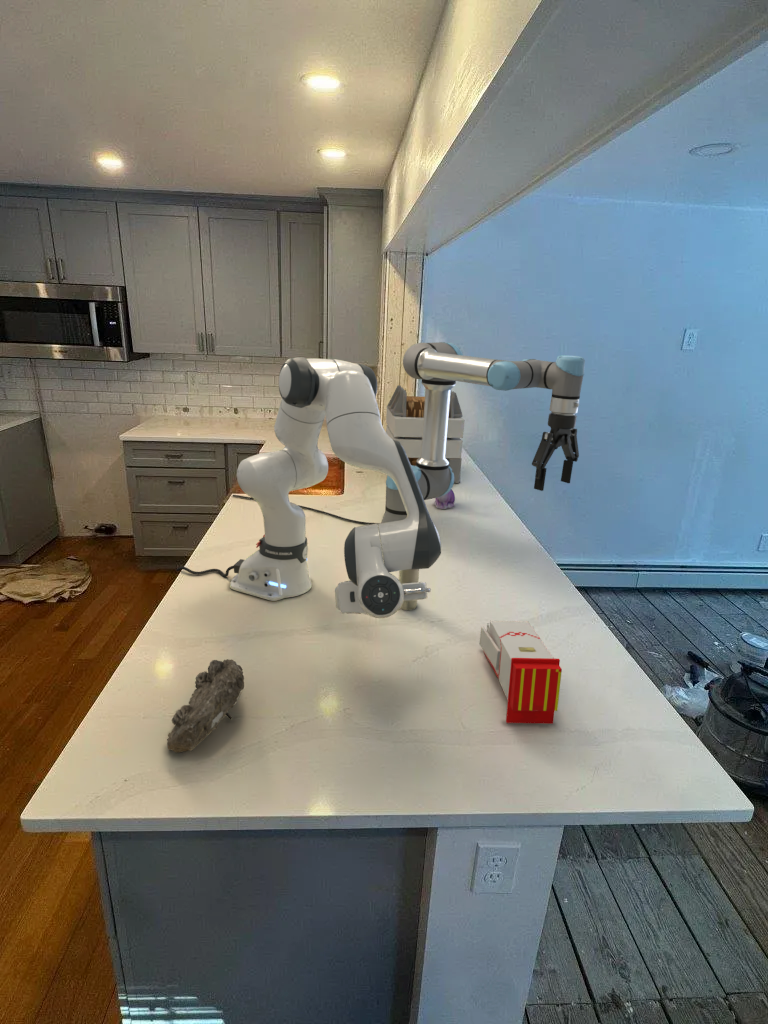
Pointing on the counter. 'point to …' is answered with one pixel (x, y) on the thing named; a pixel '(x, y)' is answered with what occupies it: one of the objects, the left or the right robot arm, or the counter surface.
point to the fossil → (206, 705)
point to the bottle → (409, 577)
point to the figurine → (445, 500)
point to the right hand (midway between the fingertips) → (552, 485)
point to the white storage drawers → (408, 427)
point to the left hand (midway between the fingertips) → (381, 594)
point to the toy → (523, 670)
